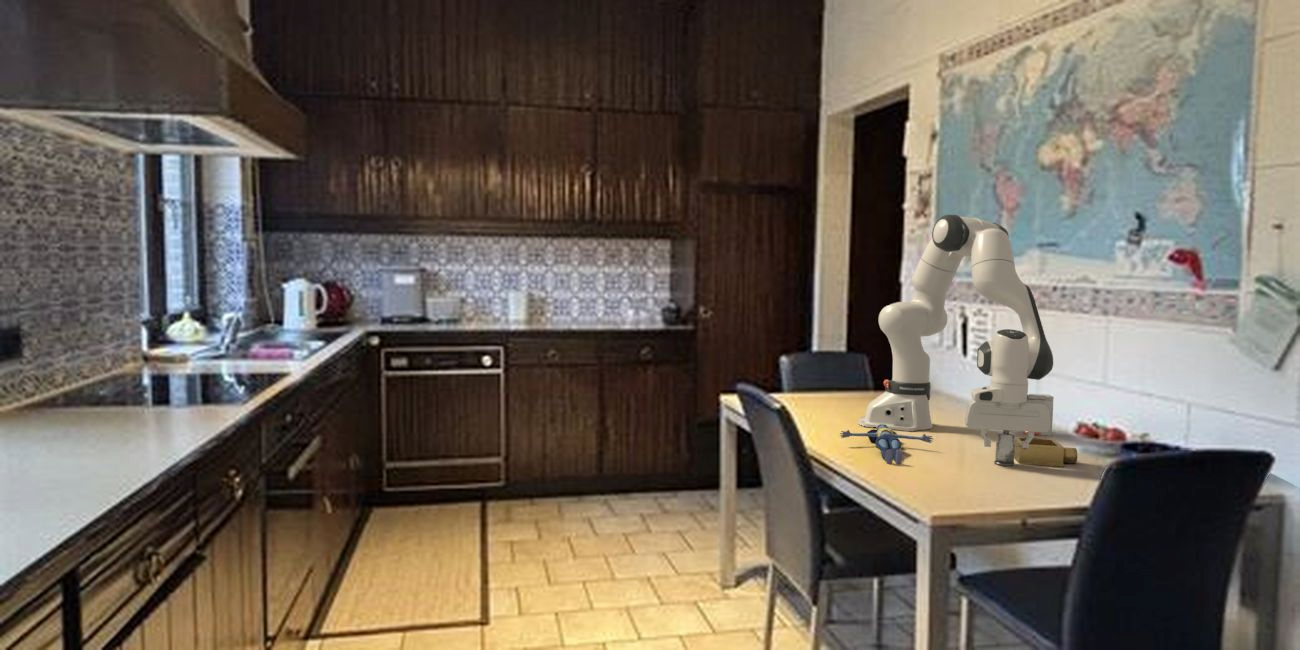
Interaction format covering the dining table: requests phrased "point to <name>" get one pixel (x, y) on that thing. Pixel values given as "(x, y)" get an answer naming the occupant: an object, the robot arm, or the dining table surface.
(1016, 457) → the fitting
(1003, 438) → the cylinder
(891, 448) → the figurine
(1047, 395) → the skincare box
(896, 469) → the dining table surface
